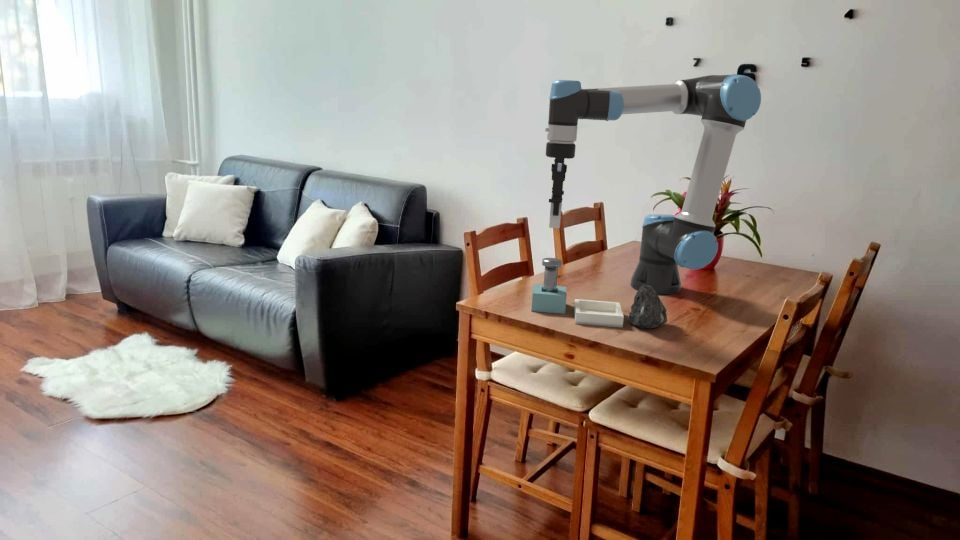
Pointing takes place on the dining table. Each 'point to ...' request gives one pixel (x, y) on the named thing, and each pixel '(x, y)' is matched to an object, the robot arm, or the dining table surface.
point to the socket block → (549, 300)
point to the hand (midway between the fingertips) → (554, 223)
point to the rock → (647, 309)
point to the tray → (598, 313)
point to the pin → (551, 274)
